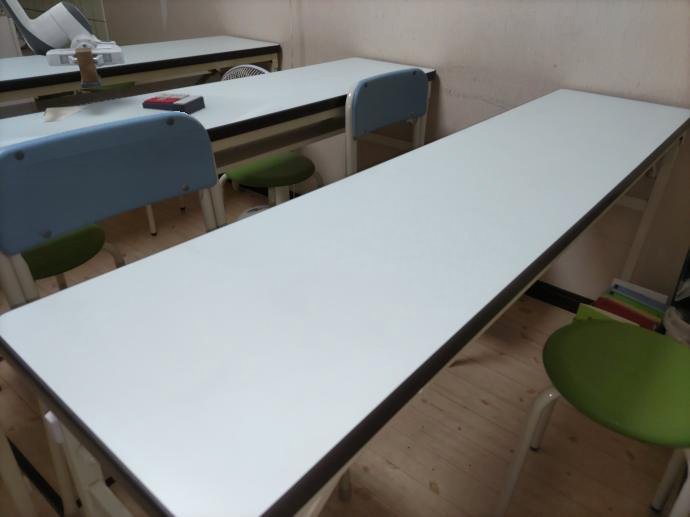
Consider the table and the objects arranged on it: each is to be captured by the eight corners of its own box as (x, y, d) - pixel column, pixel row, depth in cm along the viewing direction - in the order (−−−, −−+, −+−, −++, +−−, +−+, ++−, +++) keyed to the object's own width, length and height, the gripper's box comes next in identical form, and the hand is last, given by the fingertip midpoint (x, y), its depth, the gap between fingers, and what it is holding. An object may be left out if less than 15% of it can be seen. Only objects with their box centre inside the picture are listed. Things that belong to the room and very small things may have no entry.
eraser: (82, 88, 142) (72, 53, 137) (82, 80, 149) (73, 47, 145) (101, 86, 143) (93, 52, 138) (100, 79, 151) (92, 46, 146)
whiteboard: (42, 127, 140) (41, 122, 139) (46, 111, 152) (45, 107, 152) (120, 121, 147) (119, 117, 146) (118, 107, 159) (117, 103, 159)
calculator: (162, 92, 162) (203, 93, 158) (165, 106, 165) (205, 107, 160) (140, 100, 153) (183, 102, 149) (144, 114, 156) (186, 116, 151)
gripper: (44, 42, 148) (41, 50, 137) (120, 41, 155) (122, 48, 144) (50, 65, 151) (47, 75, 140) (124, 62, 158) (126, 71, 148)
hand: (86, 61), depth 142 cm, fingers closed on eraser, 4 cm apart
